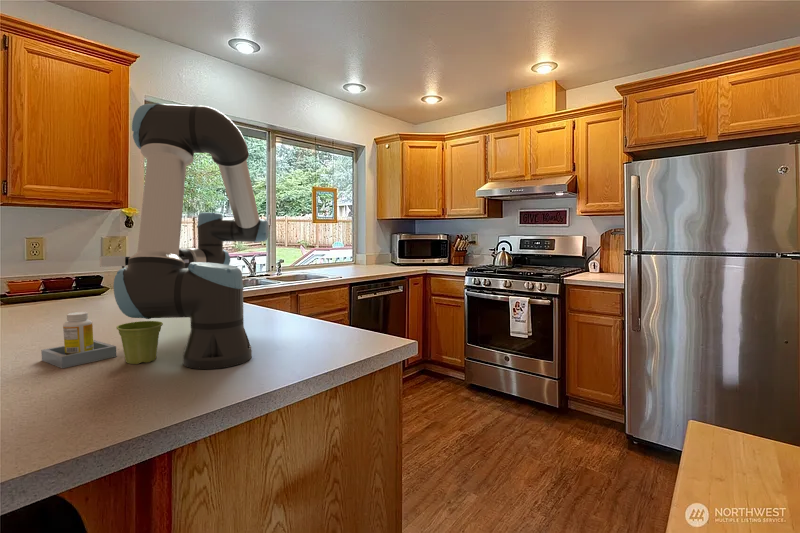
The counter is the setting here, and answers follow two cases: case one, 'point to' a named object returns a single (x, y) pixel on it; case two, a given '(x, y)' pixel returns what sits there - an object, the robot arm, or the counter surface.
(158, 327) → the plant pot
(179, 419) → the counter surface
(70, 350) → the supplement bottle
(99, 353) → the dish
